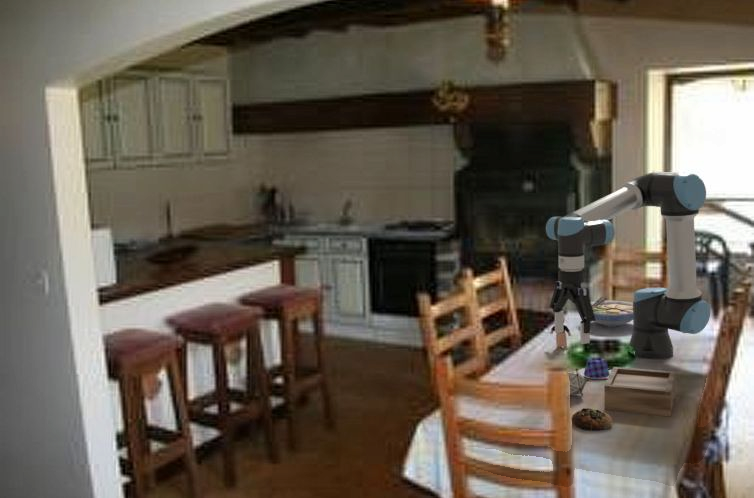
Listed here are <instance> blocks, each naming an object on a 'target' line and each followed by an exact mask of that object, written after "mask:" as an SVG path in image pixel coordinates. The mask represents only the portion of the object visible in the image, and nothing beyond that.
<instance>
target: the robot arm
mask: <svg viewBox="0 0 754 498" xmlns="http://www.w3.org/2000/svg"><path fill="white" fill-rule="evenodd" d="M706 198H707V188H706V185H705V183H704V181H703V179H702V178H700V176H699V175H697V174H694V173H688V172H685V171H684V172H682V171H681V172H679V171H677V172H676V171H675V172H674V171H673V172H671V171H670V172H669V171H668V172H665V171H654V172H653V171H652V172H649V173H646V174H643V175H640V176H637V177H635V178H632V179H631V180H629V181H627V182H625V183H623V184H622V185H620V187H619V189H618V190H615V191H613V192H611V193H610V194H608V195H605V196H604V197H601V198H599V199H597V200H595V201H593V202H591V203H589V204H587V205H585V206H583V207H581V208H578V209H577V210H575V211H573V212H571V213H569V214H567V215H565V216H552V217H550V218H549V219H548V220H547V222H546V224H545V232H546V236H547V237H548V238H549V239H551V240H556V241H557V247H558V248H557V249H558V269H559V270H558V272H557V274H558V275H557V277H558V281H555V283H554V290H553V294H552V297H551V300H550V303H549V308H550V309H552V311H553V313H554V315H553V316H554V317H553V318H554V320H553V321H554V326H555V331H554V334H556V333H561V332H564V325H565V321H564V318H563V316H564V307H565V305H566V303H567V302H568V300H569V301H571V303H573V304H574V306H575V308H576V310H577V313H578V315H579V317H580V323H579V325H580V329H579V330H580V337H579V338H580V344H581V345H585V344H590V343H591V342H590V340H591V339H590V338H591V335H590V334H591V322H594V321H595V316H594V312H593V309H592V305H591V302H592V301H591V299H590V295H589V293H590V292H589V288H588V287H584V288H583V287H582V284H583V283H584V282H585V270H584V269H585V248H588V247H595V246H603V245H605V244H606V245H607V244H609V243H611V242H612V241H613V240H614V238H615V233H616V231H615V227H614V225H613V223H612V222H611V221H610V220H611V219H613V218H615V217H617V216H621V214H623V213H625V212H628V211H629V210H631V211H636V210H638V209H640V208H644V207H656V208H657V207H658V208H660V216H662V218H664V219H665V226H666V227H665V228H666V244H667V245H666V247H667V267H668V269H667V270H668V271H667V272H668V287H669V288H667V287H648V288H641V289H637V290H636V291H635V292H634V293H633V301H632V303H633V320H632V325H633V326H632V328H633V329H632V333H631V336H630V341H629V343H628V345H629V346H631V347H633V349H634V351H635V355H636V356H635V357H636V358H637V357H638V358H642V359H653V360H654V359H666V358H669V357H672V356H673V355H674V346H673V343H672V340H671V337H670V333H669V330H671V331H675V332H679V333H682V334H690V335H697V334H700V333H701V332H702V331H703V330H704V329H705V328H706V326H707V325H708V324H709V322H710V317H711V313H712V311H711V306H710V305H709V303H708V302H707V301H705V300H703V293H702V291H701V290H700V289H699V288H698V286H697V285H698V284H697V263H696V261H697V259H696V241H695V240H696V239H695V235H696V234H695V233H696V232H695V218H696V216H697V215H698V214H699V212H700V211H699V209H701V208H702V207H703V206H704V205H705V201H706Z"/></svg>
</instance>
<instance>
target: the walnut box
mask: <svg viewBox="0 0 754 498" xmlns="http://www.w3.org/2000/svg"><path fill="white" fill-rule="evenodd" d="M611 370H612V371H611V373H610V374H609V375H608V376H609V377H608V378H606V379H607V380H606V381H605V384H604V388H603V389H604V410H606V411H617V412H626V413H633V414H634V413H635V414H644V415H646V414H647V415H655V416H662V417H663V416H665V417H671V416H672V411H673V407H674V402H675V399H676V398H675V397H676V371H671V370H670V371H668V370H655V369H645V368H643V369H642V368H633V367H621V366H620V367H619V366H612V369H611Z"/></svg>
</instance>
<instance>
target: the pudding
mask: <svg viewBox="0 0 754 498" xmlns="http://www.w3.org/2000/svg"><path fill="white" fill-rule="evenodd" d="M608 369H610V368H609V367H608V363H607V361H606V359H604V358H603V357H590V358H588V359H587V360H586V364H585V367H583V368H580V369H579V370H577V371H578V372H579V373H580V374H581V375H582V376H583V377H584V378H587V379H594V380H595V379H596V380H603V379H608V377H609V375H610V373H611V371H612V369H610V370H608Z"/></svg>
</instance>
